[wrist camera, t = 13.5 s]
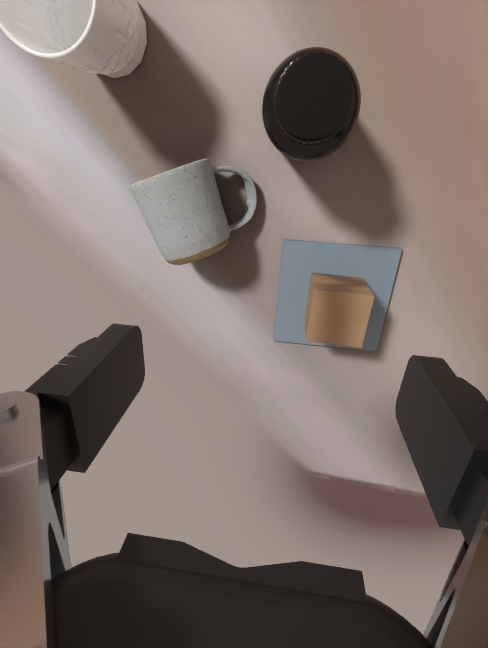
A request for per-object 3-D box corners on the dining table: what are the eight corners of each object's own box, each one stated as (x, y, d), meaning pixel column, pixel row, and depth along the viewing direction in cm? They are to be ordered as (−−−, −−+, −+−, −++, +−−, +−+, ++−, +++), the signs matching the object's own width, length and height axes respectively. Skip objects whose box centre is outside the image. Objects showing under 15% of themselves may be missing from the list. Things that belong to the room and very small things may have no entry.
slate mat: (401, 248, 35) (402, 249, 35) (375, 349, 41) (376, 351, 40) (283, 239, 36) (283, 240, 36) (274, 339, 42) (273, 340, 41)
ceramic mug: (178, 256, 39) (154, 276, 32) (147, 181, 36) (113, 186, 29) (268, 226, 36) (264, 242, 29) (243, 143, 33) (231, 139, 26)
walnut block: (363, 277, 37) (374, 296, 32) (352, 324, 39) (361, 347, 34) (311, 272, 37) (314, 289, 32) (304, 318, 40) (305, 341, 35)
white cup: (157, 87, 32) (104, 59, 23) (76, 84, 33) (-5, 56, 24) (150, -27, 29) (86, -112, 20) (61, -27, 29) (-41, -109, 20)
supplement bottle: (324, 55, 29) (342, -4, 19) (357, 133, 32) (390, 120, 21) (255, 105, 32) (236, 78, 21) (290, 175, 34) (289, 182, 23)
